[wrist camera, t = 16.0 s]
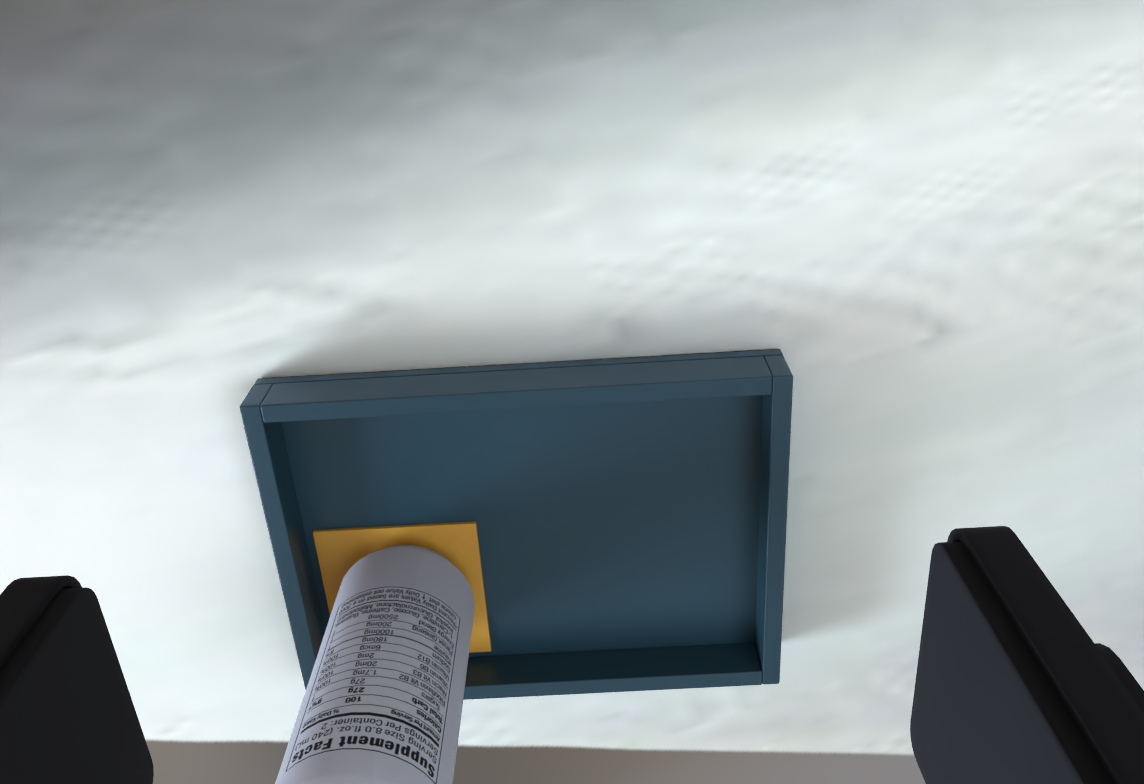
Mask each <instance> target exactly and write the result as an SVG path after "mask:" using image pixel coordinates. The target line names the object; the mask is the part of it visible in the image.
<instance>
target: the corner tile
mask: <svg viewBox="0 0 1144 784" xmlns="http://www.w3.org/2000/svg"><path fill="white" fill-rule="evenodd" d="M313 537H314V542H315V547H316V551H317V556H318V561H319V566H320V570H321V575H322V580H323V585H324V589H325V594H326V599H327V604H328V608H329V613H330V616H331V613H332V610H333V606H334V603H335V600H336V597H337V594H338V591H339V588H340V586H341V583H342V580H343V578H344V576H345V575H346V573H347V572H348V570H349V569H350V568H351V567H352V566H353V565H354V564H355V563H356V562H357V561H359V560H360V559H362V558H363V557H365V556H367V555H369V554H371V553H373V552H376V551H379V550H382V549H385V548H388V547H391V546H397V545H415V546H422V547H425V548H428V549H431V550H434V551H435V552H437V553H439V554H441V555H443V556H444V557H445V558H447V559H448V560H449V561H450V562H451V563H452V564H453V565H454V566H455V567H457V568H458V569H459V570H460V572H461V573H462V574H463V575H464V576H465V577H466V579H467V581H468V583H469V585H470V586H471V589H472V592H473V596H474V607H475V609H474V617H473V625H472V633H471V641H470V649H469V653H473V652H491V650H492V648H491V640H490V632H489V624H488V615H487V607H486V599H485V591H484V582H483V574H482V566H481V558H480V549H479V541H478V533H477V525H476V521H471V522H452V523H434V524H415V525H396V526H378V527H359V528H340V529H322V530H313Z"/></svg>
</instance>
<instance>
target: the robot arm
mask: <svg viewBox="0 0 1144 784" xmlns="http://www.w3.org/2000/svg"><path fill="white" fill-rule="evenodd" d="M910 731H911V741H912V747H913V751H914V755H915V758H916V761H917V763H918V766H919V768H920V770H921V773H922V775H923V778H924V780H925V783H926V784H1144V691H1143V689H1142V688H1141V687H1140V685H1139V684H1138V682H1137V681H1136V680H1135V678H1134V677H1133V676H1132V674H1131V673H1130V672H1129V670H1128V669H1127V668H1126V666H1125V665H1124V664H1123V662H1122V661H1121V659H1120V658H1119V657H1118V656H1117V655H1116V654H1115V653H1114V652H1113V651H1112V650H1111V649H1110V648H1109V647H1106V646H1104V645H1102V644H1100V643H1097V644H1094V642H1093V641H1092V640H1091V638H1090V637H1089V636H1088V634H1087V633H1086V631H1085V630H1084V629H1083V627H1082V626H1081V624H1080V623H1079V622H1078V620H1077V619H1076V617H1075V616H1074V615H1073V613H1072V612H1071V611H1070V609H1069V608H1068V606H1067V605H1066V604H1065V602H1064V601H1063V599H1062V598H1061V597H1060V595H1059V594H1058V593H1057V591H1056V590H1055V588H1054V587H1053V586H1052V584H1051V583H1050V581H1049V580H1048V579H1047V577H1046V576H1045V574H1044V573H1043V572H1042V570H1041V569H1040V568H1039V566H1038V565H1037V563H1036V562H1035V561H1034V559H1033V558H1032V556H1031V555H1030V554H1029V552H1028V551H1027V549H1026V548H1025V547H1024V545H1023V544H1022V543H1021V541H1020V540H1019V538H1018V537H1017V536H1016V534H1015V533H1014V532H1013V531H1012V530H1011V529H1010V528H1009V527H1006V526H997V527H978V528H959V529H954V530H952V531H951V533H950V535H949V537H948V541H947V542H945V543H937V544H935V545H934V547H933V550H932V555H931V563H930V571H929V579H928V587H927V595H926V603H925V611H924V619H923V627H922V635H921V643H920V651H919V659H918V667H917V675H916V683H915V691H914V699H913V707H912V715H911V725H910ZM152 783H153V763H152V759H151V756H150V753H149V750H148V747H147V744H146V741H145V738H144V735H143V732H142V729H141V726H140V723H139V720H138V717H137V714H136V711H135V708H134V705H133V702H132V700H131V697H130V694H129V691H128V688H127V685H126V682H125V679H124V676H123V673H122V670H121V667H120V664H119V661H118V658H117V655H116V652H115V649H114V646H113V643H112V640H111V637H110V634H109V631H108V629H107V626H106V623H105V620H104V617H103V614H102V611H101V608H100V605H99V602H98V599H97V597H96V595H95V593H94V592H93V591H92V590H91V589H89V588H82V587H81V585H80V583H79V582H78V581H77V580H76V579H75V578H74V577H71V576H52V577H33V578H20V579H17V580H14V581H13V582H12V583H11V584H9V585H8V586H7V587H6V589H5V590H4V591H3V592H2V594H1V595H0V784H152Z"/></svg>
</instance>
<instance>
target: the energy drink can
mask: <svg viewBox="0 0 1144 784" xmlns="http://www.w3.org/2000/svg"><path fill="white" fill-rule="evenodd" d="M474 609H475V607H474V596H473V592H472V589H471V586H470V585H469V583H468V581H467V579H466V577H465V576H464V575H463V574H462V573H461V572H460V570H459V569H458V568H457V567H455V566H454V565H453V564H452V563H451V562H450V561H449V560H448V559H447V558H445V557H444V556H443V555H441V554H439V553H437V552H435V551H434V550H431V549H428V548H425V547H422V546H415V545H397V546H391V547H388V548H385V549H382V550H379V551H376V552H373V553H371V554H369V555H367V556H365V557H363V558H362V559H360V560H359V561H357V562H356V563H355V564H354V565H353V566H352V567H351V568H350V569H349V570H348V572H347V573H346V575H345V576H344V578H343V580H342V583H341V586H340V588H339V591H338V594H337V597H336V600H335V603H334V606H333V610H332V613H331V616H330V619H329V622H328V625H327V628H326V631H325V634H324V637H323V640H322V643H321V646H320V649H319V652H318V655H317V658H316V661H315V664H314V667H313V670H312V674H311V677H310V680H309V683H308V686H307V689H306V692H305V695H304V698H303V701H302V704H301V707H300V710H299V713H298V716H297V719H296V722H295V725H294V728H293V731H292V734H291V737H290V741H289V744H288V747H287V750H286V753H285V756H284V759H283V762H282V765H281V768H280V771H279V774H278V777H277V781H276V783H275V784H452V783H453V776H454V767H455V760H456V752H457V744H458V736H459V728H460V720H461V712H462V704H463V697H464V689H465V681H466V673H467V665H468V657H469V649H470V641H471V633H472V625H473V617H474Z"/></svg>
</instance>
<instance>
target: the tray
mask: <svg viewBox="0 0 1144 784" xmlns="http://www.w3.org/2000/svg"><path fill="white" fill-rule="evenodd" d="M792 388H793V375H792V373H791V371H790V369H789V367H788V365H787V363H786V361H785V359H784V357H783V354H782V352H781V350H780V349H774V350H756V351H739V352H721V353H703V354H686V355H668V356H650V357H633V358H615V359H597V360H580V361H562V362H544V363H527V364H509V365H491V366H474V367H456V368H438V369H421V370H403V371H385V372H367V373H350V374H332V375H314V376H297V377H279V378H261V379H257V381H256V383H255V384H254V385H253V387H252V388H251V390H250V392H249V393H248V395H247V396H246V398H245V399H244V401H243V402H242V404H241V405H240V411H241V415H242V419H243V424H244V428H245V432H246V436H247V441H248V445H249V449H250V454H251V458H252V462H253V466H254V471H255V475H256V479H257V484H258V488H259V492H260V496H261V501H262V505H263V509H264V514H265V518H266V522H267V526H268V531H269V535H270V539H271V543H272V548H273V552H274V556H275V561H276V565H277V569H278V573H279V578H280V582H281V586H282V591H283V595H284V599H285V603H286V608H287V612H288V616H289V621H290V625H291V629H292V633H293V638H294V642H295V646H296V650H297V655H298V659H299V663H300V668H301V672H302V676H303V680H304V685H305V689H307V686H308V683H309V680H310V677H311V674H312V670H313V667H314V664H315V661H316V658H317V655H318V652H319V649H320V646H321V643H322V640H323V637H324V634H325V631H326V628H327V625H328V622H329V619H330V613H329V608H328V604H327V599H326V594H325V589H324V585H323V580H322V575H321V570H320V566H319V561H318V556H317V551H316V547H315V542H314V537H313V530H322V529H340V528H359V527H378V526H396V525H415V524H434V523H452V522H471V521H476V525H477V533H478V541H479V549H480V558H481V566H482V574H483V582H484V591H485V599H486V607H487V615H488V624H489V632H490V640H491V648H492V650H491V652H473V653H469V657H468V665H467V673H466V681H465V689H464V697H463V700H464V699H484V698H504V697H524V696H544V695H564V694H584V693H604V692H624V691H644V690H664V689H684V688H704V687H724V686H744V685H761V684H778V683H779V679H780V657H781V634H782V612H783V590H784V567H785V545H786V523H787V500H788V478H789V456H790V433H791V411H792Z"/></svg>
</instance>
